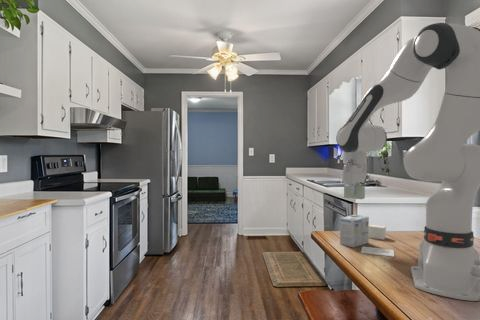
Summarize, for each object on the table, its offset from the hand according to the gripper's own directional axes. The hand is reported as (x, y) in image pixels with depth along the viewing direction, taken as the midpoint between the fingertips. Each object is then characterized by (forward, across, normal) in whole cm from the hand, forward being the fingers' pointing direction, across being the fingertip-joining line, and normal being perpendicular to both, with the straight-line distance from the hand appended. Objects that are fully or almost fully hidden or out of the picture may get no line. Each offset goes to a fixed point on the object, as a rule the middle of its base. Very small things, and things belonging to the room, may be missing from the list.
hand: (354, 193), depth 126 cm
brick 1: (+2, 0, 0) cm, 2 cm away
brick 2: (+20, +15, -5) cm, 26 cm away
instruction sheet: (+20, -6, -10) cm, 23 cm away
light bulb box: (+20, 0, 0) cm, 20 cm away
